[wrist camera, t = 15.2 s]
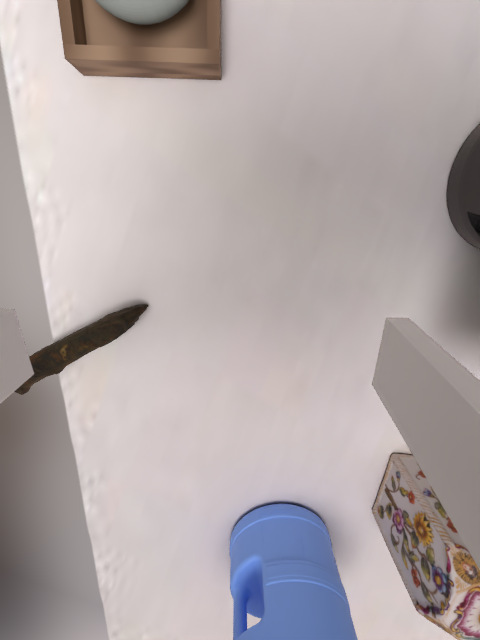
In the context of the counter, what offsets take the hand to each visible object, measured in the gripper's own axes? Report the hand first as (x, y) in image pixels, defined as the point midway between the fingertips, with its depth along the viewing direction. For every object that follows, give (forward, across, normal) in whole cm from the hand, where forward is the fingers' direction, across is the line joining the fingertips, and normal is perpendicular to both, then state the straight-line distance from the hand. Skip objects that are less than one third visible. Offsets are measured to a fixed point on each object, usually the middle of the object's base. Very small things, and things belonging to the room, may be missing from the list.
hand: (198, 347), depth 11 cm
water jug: (+23, +7, -47) cm, 52 cm away
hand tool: (+24, -19, -12) cm, 33 cm away
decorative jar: (+24, +27, -36) cm, 51 cm away
